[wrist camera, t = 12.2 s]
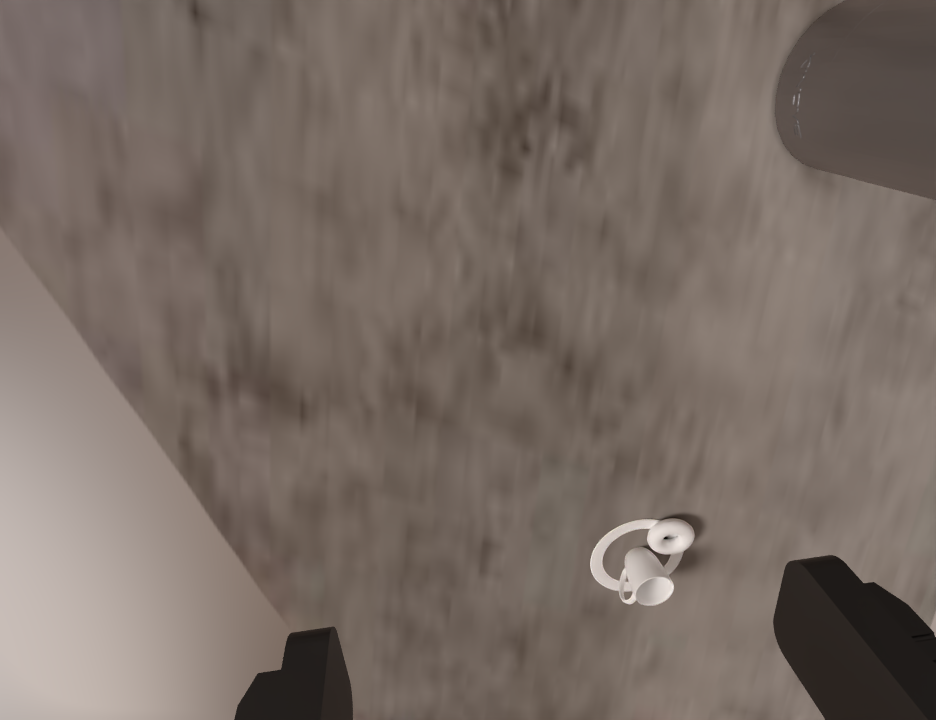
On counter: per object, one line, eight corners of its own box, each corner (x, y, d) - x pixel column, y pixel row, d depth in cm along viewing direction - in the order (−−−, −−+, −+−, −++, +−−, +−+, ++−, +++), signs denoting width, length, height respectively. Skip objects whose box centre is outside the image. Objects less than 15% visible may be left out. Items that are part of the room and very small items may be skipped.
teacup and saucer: (680, 498, 48) (704, 533, 44) (698, 563, 51) (721, 601, 48) (577, 536, 48) (592, 575, 45) (602, 598, 52) (618, 639, 48)
